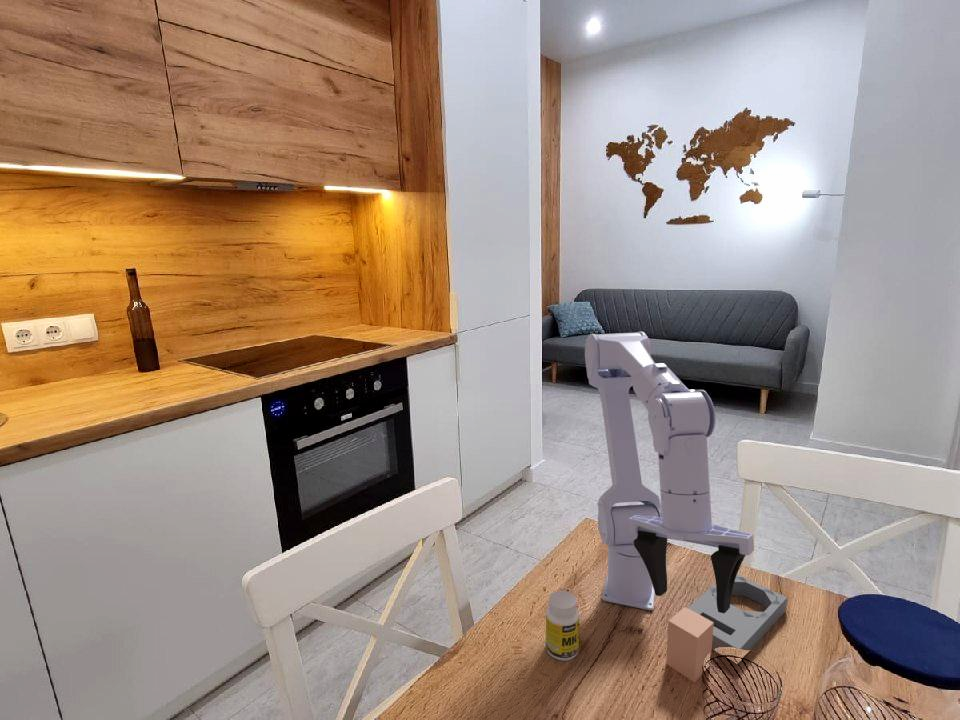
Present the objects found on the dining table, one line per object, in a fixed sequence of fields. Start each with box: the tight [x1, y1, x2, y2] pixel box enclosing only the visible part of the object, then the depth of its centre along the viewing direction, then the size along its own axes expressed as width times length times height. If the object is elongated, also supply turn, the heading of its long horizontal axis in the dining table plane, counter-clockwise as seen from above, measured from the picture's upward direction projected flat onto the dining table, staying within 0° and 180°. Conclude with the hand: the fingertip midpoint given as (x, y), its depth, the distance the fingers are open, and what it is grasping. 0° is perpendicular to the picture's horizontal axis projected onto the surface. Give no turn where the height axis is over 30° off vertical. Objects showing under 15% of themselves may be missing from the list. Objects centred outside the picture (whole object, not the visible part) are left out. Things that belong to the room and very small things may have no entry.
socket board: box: [687, 573, 788, 651], centre depth 80 cm, size 16×9×2 cm, turn 129°
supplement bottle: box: [545, 589, 580, 662], centre depth 75 cm, size 5×5×8 cm
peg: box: [665, 606, 714, 683], centre depth 72 cm, size 4×4×7 cm
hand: (691, 601), depth 64 cm, fingers open, 7 cm apart
